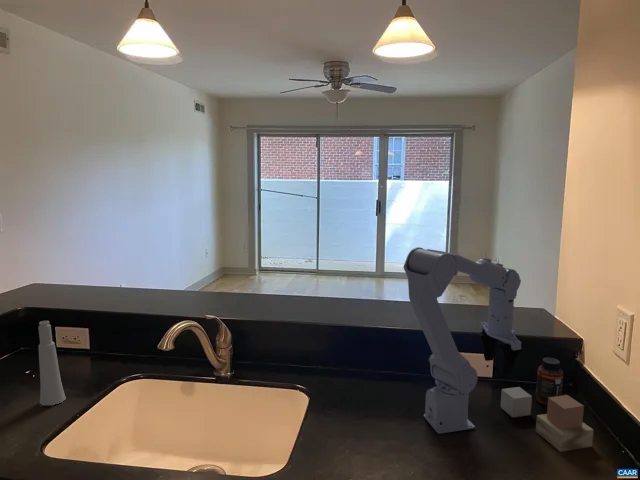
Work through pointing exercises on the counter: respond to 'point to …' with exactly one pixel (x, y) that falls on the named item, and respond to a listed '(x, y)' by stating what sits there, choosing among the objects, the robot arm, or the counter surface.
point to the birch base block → (564, 435)
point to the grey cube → (516, 402)
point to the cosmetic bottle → (49, 368)
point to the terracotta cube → (565, 412)
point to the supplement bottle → (549, 380)
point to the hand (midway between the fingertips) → (497, 366)
